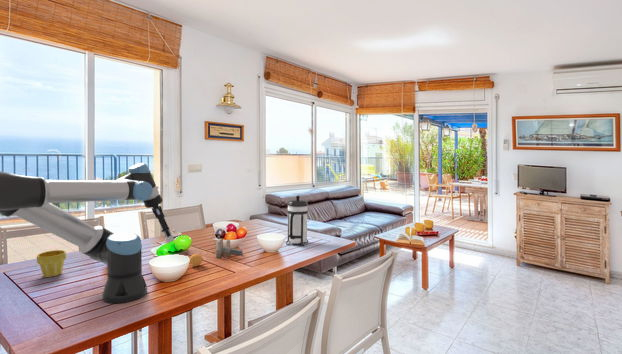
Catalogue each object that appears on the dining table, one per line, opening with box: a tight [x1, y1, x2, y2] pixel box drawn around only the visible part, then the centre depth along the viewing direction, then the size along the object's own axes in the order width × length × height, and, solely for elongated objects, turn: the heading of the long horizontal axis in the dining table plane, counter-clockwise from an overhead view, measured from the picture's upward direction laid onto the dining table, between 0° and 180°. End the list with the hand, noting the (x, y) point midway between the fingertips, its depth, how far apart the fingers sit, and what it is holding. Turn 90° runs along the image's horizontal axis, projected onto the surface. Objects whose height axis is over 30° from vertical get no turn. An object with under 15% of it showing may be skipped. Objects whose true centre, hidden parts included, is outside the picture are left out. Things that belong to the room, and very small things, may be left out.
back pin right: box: [224, 239, 231, 258], centre depth 183 cm, size 2×2×8 cm
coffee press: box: [285, 195, 309, 247], centre depth 208 cm, size 17×16×30 cm
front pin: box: [215, 240, 222, 259], centre depth 181 cm, size 2×2×8 cm
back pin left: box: [217, 238, 224, 256], centre depth 186 cm, size 2×2×8 cm
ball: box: [189, 253, 203, 267], centre depth 167 cm, size 6×6×6 cm
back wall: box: [223, 246, 243, 256], centre depth 189 cm, size 2×16×2 cm, turn 63°
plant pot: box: [36, 249, 67, 278], centre depth 152 cm, size 10×10×10 cm
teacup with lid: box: [164, 229, 183, 244], centre depth 193 cm, size 12×9×12 cm
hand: (168, 235), depth 161 cm, fingers open, 13 cm apart
